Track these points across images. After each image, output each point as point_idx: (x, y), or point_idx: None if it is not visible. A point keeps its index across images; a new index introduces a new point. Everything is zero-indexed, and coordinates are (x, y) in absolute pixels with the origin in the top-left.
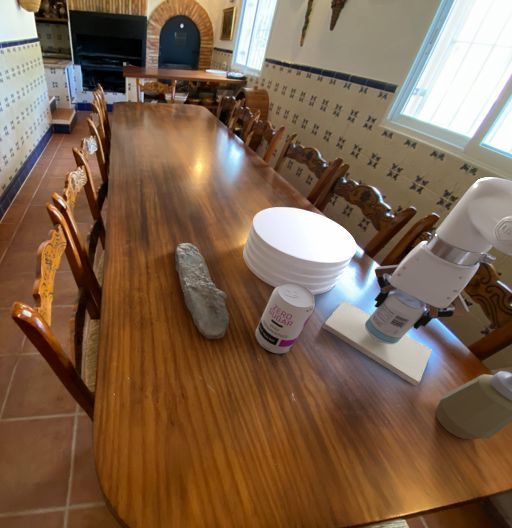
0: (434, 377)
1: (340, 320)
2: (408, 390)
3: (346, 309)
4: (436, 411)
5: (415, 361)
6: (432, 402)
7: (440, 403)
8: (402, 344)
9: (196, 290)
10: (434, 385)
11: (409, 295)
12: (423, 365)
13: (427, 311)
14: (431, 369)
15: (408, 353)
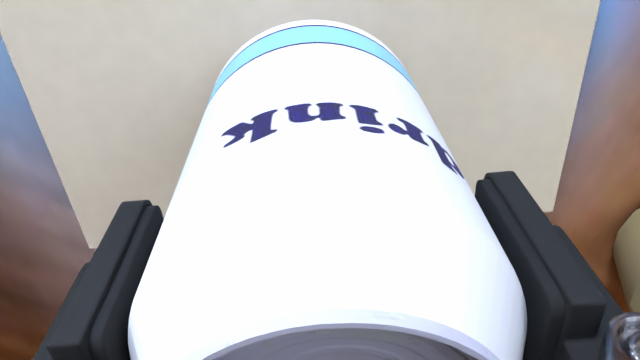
0: (624, 64)
1: (115, 166)
2: None
3: (58, 38)
4: (615, 260)
5: (528, 103)
6: (605, 209)
7: (628, 305)
8: (447, 33)
9: None
10: (620, 116)
11: (306, 355)
12: (569, 95)
13: (553, 356)
14: (613, 19)
15: (488, 77)
